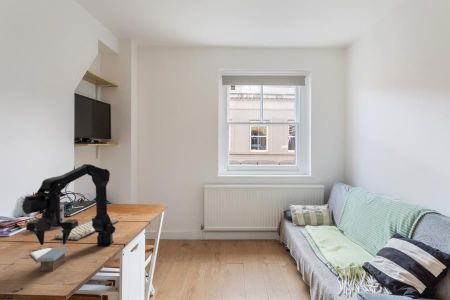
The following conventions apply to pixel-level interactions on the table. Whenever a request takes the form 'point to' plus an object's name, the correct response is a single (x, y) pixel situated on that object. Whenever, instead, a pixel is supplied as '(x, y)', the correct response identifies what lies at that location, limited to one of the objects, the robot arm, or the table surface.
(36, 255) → the external hard drive
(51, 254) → the lid
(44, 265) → the box
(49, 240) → the table surface
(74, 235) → the mechanical keyboard
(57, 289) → the table surface
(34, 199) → the robot arm
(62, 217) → the pillar candle
